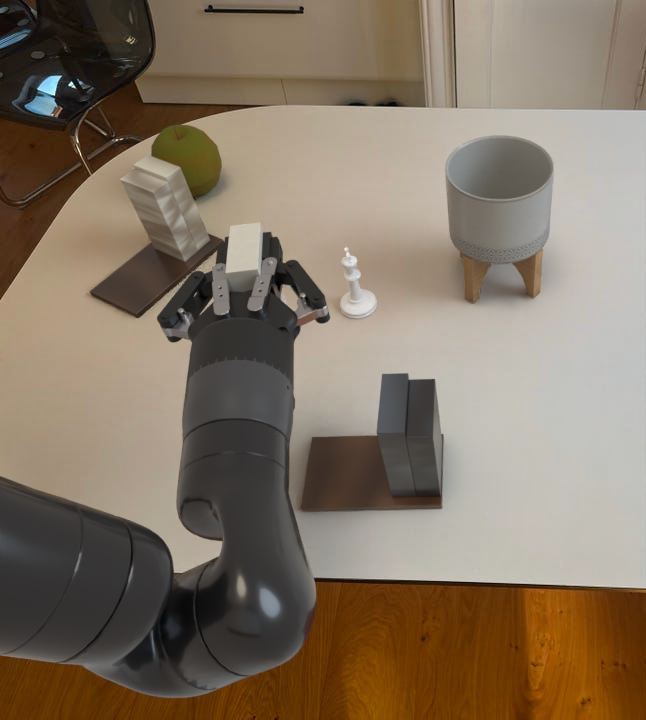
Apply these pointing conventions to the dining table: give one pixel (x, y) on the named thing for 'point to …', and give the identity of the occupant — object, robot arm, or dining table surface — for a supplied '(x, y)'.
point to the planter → (499, 207)
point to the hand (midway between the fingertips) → (250, 242)
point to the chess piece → (355, 291)
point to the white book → (245, 256)
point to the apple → (190, 156)
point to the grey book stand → (382, 456)
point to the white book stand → (158, 238)
